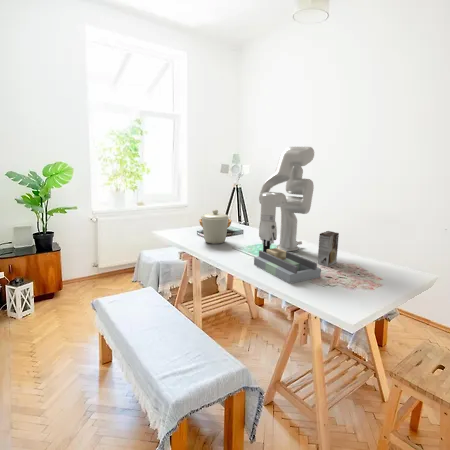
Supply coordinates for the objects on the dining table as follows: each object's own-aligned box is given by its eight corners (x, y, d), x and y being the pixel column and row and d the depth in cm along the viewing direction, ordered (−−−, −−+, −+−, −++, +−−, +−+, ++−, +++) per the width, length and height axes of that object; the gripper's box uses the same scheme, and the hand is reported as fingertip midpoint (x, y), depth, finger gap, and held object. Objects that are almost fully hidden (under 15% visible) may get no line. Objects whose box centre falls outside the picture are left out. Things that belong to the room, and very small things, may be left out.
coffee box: (325, 260, 173) (327, 230, 170) (336, 262, 169) (339, 232, 166) (316, 263, 167) (319, 233, 164) (328, 266, 162) (330, 235, 159)
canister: (226, 246, 196) (227, 212, 192) (197, 244, 199) (197, 211, 195) (230, 239, 214) (231, 208, 210) (204, 237, 217) (204, 206, 213)
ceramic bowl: (240, 232, 235) (240, 221, 233) (212, 236, 221) (212, 225, 219) (217, 225, 258) (217, 215, 257) (191, 228, 244) (191, 218, 243)
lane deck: (282, 260, 172) (283, 247, 170) (320, 277, 147) (321, 262, 146) (254, 264, 163) (254, 251, 162) (289, 283, 139) (290, 268, 138)
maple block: (277, 255, 166) (277, 247, 165) (285, 259, 160) (286, 251, 159) (266, 257, 163) (266, 249, 162) (274, 260, 157) (274, 253, 156)
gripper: (282, 219, 160) (280, 255, 164) (265, 215, 173) (264, 248, 177) (270, 221, 157) (268, 257, 160) (253, 216, 170) (252, 249, 173)
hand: (266, 252), depth 169 cm, fingers closed
